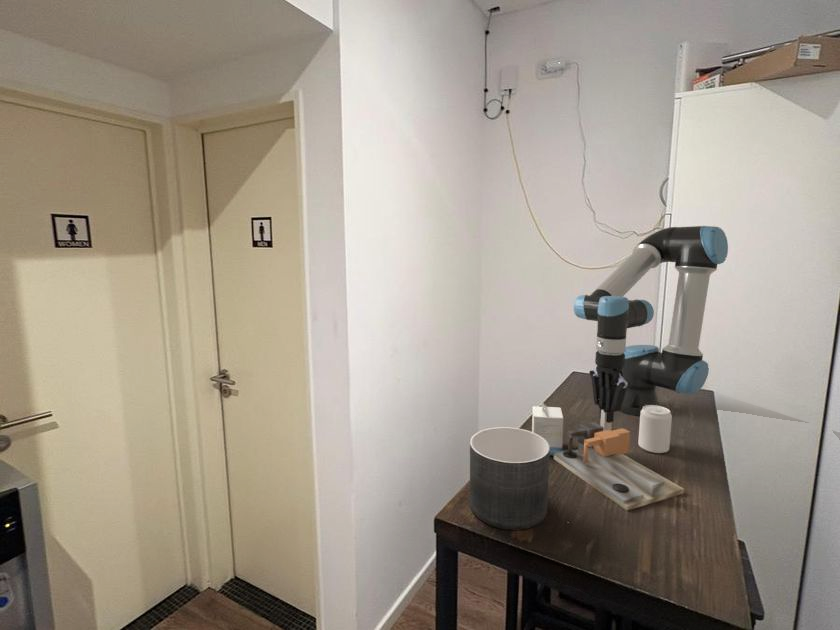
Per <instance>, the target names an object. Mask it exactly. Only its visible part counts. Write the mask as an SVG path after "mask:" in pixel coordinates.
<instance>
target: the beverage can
mask: <svg viewBox="0 0 840 630" xmlns="http://www.w3.org/2000/svg"><path fill="white" fill-rule="evenodd" d="M672 419H673V416H672V413H671V410H670V409H669V408H667V407H664V406H661V405H660V406H656V405H646V406H644V407H643V409H642V410H641V413H640V416H639V428H638V439H637V440H638V443H637V444H638V446H639V447H640V448H641V449H642V450H644V451H647V452H650V453H653V454H654V453H655V454H663V453H667V452H669V450H670V444H671V434H672V432H671V431H672Z"/></svg>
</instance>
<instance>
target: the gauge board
mask: <svg viewBox="0 0 840 630" xmlns="http://www.w3.org/2000/svg"><path fill="white" fill-rule="evenodd" d="M601 431H603V427H602V426H600V424H598V423H596V422H594V421H591V422H585V423H581V424H578V428H577V429H570V430H568V431H567V432H566V433H567V434H566V435H567V437H568V446H567V447H568V448H567V449H563V451H559V452H554V456H553V460H555V461H556V462H557V463H559V464H560V465H561V466H563V468H566V469H567V470H568V471H570V472H571V473H573V475H575V476H577V477H578V478H580V479H581V480H583V481H584V482H585V483H587V484H588V485H590V486H591V487H592V488H594V489H596V490H597V491H598V492H599V493H601V494H603V495H604V496H605V497H607V498H608V499H610V500H611V501H612V502H614V503H615V504H616V505H618V506H620V507H621V508H622V509H624V510H625V511H627V512H628V511H631V510H634V509H637V508H640V507H644V506H647V505H649V504H654V503H656V502H660V501H663V500H667V499H670V498H673V497H677V496H680V495H683V494H684V493H685V491H684V490H685V489H684V488H683V487H681V486H680V485H678V484H676V483H674V482H672V481H671V480H670V479H667V478H666V477H664V476H662V475H661V474H659V473H657V472H655V471H653V470H652V469H650V468H648V467H646V466H644V465H643V464H640V462H637V461H636V460H633V459H632V458H630V457H628V456H627V455H624V454H620V455H618V454H614V455H610V456H605V457H604V456H603V455H601V454H599V453H598V452H596V451H594V446H592V447H588V460H587V463H584V462H583V459H584V440H585V439H590V438H594V434H595V433H596V432H601ZM574 438H578V439H577V444H578V445H577V449H573V441H574V440H573V439H574Z"/></svg>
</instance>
